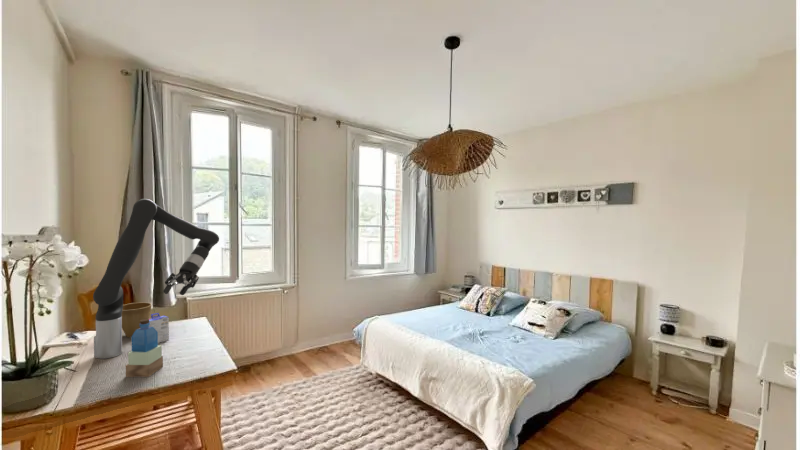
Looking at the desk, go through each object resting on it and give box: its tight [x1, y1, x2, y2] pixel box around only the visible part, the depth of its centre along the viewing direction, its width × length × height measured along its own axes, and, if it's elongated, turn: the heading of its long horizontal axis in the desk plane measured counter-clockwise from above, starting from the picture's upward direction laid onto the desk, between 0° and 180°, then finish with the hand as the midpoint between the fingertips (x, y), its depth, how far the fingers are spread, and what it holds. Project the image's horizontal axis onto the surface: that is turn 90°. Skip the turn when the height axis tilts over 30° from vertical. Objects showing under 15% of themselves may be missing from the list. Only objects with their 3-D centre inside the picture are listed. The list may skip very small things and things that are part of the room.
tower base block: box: [125, 355, 164, 378], centre depth 144 cm, size 9×9×5 cm
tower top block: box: [127, 344, 163, 365], centre depth 144 cm, size 8×8×5 cm
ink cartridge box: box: [149, 312, 170, 344], centre depth 177 cm, size 10×6×14 cm, turn 148°
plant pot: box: [122, 302, 152, 338], centre depth 186 cm, size 15×15×16 cm
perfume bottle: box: [130, 318, 159, 352], centre depth 144 cm, size 6×6×12 cm
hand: (173, 293), depth 159 cm, fingers open, 8 cm apart
